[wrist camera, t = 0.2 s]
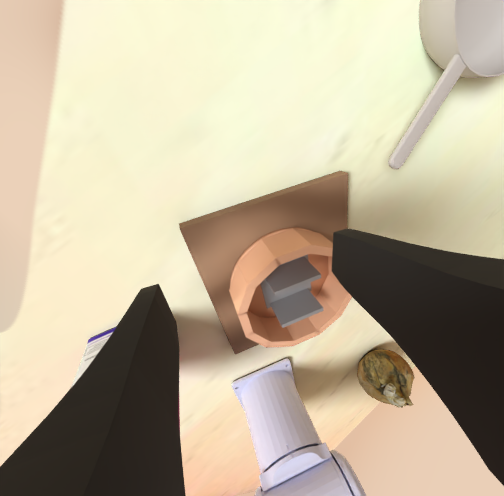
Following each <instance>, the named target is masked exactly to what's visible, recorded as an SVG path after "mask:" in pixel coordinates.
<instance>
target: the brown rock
mask: <svg viewBox="0 0 504 496" xmlns="http://www.w3.org/2000/svg"><path fill="white" fill-rule="evenodd" d="M357 376H358V380H359V383H360V385H361V386H362V387H363V389H364V390H365V391H366V393H367V394H368V395H370V396H371V397H372V398H375V399H377V400H378V401H381V402H383V403H388V404H392V405H395V406H397V407H403V406H406V405H409V406H411V405H413V404H412V402H411V400H410V399H409V396H410V394H411V388H412V382H413V379H414V375H413V371H412V369H411V367H410V366H409V364H408V363H407V362H406V361H405V360H404V359H403V358H402V357H401V356H400V355H398V354H397V353H395V352H393V351H390V350H374V351H372V352H369V353H367V354H366V355H365V356H364V357H363V359H362V360H361V361H360V362H359V367H358V373H357Z"/></svg>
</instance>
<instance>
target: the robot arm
mask: <svg viewBox="0 0 504 496" xmlns="http://www.w3.org/2000/svg"><path fill="white" fill-rule="evenodd" d="M331 271H332V273H333V274H334V275H335V277H336V278H337V279H338V281H339V282H340V283H341V285H342V286H343V287H344V289H345V290H346V291H347V292H348V293H349V294H350V295H351V296H352V297H353V298H354V299H355V300H356V301H357V302H358V303H359V304H360V305H361V306H362V307H363V308H364V309H365V310H366V311H367V312H368V313H369V314H370V315H371V316H372V317H373V318H374V319H375V320H376V321H377V322H378V323H379V324H380V325H381V326H382V327H383V328H384V329H385V330H386V331H387V332H388V333H389V334H390V335H391V337H392V338H393V339H394V340H395V341H396V342H397V343H398V345H399V346H400V347H401V348H402V350H403V351H404V352H405V353H406V354H407V356H408V357H409V358H410V359H411V360H412V362H413V363H414V364H415V366H416V367H417V368H418V369H419V370H420V372H421V373H422V375H423V376H424V377H425V378H426V380H427V381H428V382H429V383H430V385H431V386H432V387H433V389H434V390H435V391H436V393H437V394H438V396H439V397H440V398H441V400H442V401H443V403H444V404H445V405H446V406H447V408H448V409H449V411H450V412H451V414H452V415H453V416H454V418H455V419H456V421H457V422H458V424H459V425H460V427H461V428H462V429H463V431H464V432H465V434H466V435H467V437H468V438H469V440H470V441H471V443H472V444H473V446H474V447H475V449H476V450H477V452H478V453H479V455H480V456H481V458H482V459H483V461H484V463H485V464H486V466H487V467H488V469H489V470H490V471H491V472H492V473H493V474H494V476H496V478H497V479H498V480H499V481H500V482H501V483H502V484H503V485H504V259H495V258H487V257H480V256H473V255H467V254H460V253H454V252H448V251H443V250H438V249H433V248H428V247H424V246H419V245H415V244H410V243H406V242H402V241H398V240H394V239H390V238H386V237H382V236H378V235H374V234H370V233H366V232H361V231H357V230H352V229H343V230H340V231H336V232H333V250H332V270H331ZM232 388H233V390H234V392H235V394H236V396H237V398H238V400H239V402H240V403H241V405H242V407H243V409H244V411H245V414H246V418H247V422H248V426H249V430H250V433H251V437H252V441H253V445H254V449H255V453H256V457H257V461H258V464H259V468H260V472H261V474H260V475H259V478H260V482H261V486H262V487H261V486H260V487H258V488H257V489H256V491H255V492H256V494H255V496H366V494H365V492H364V490H363V488H362V486H361V484H360V482H359V480H358V478H357V476H356V474H355V473H354V471H353V469H352V467H351V466H350V464H349V463H348V462H347V460H346V458H345V457H344V456H343V455H342V454H340V453H338V452H337V451H336V450H331V451H329V449H328V447H327V445H326V443H323V444H322V442H321V440H320V438H319V436H318V434H317V432H316V430H315V427H314V425H313V423H312V421H311V419H310V417H309V415H308V412H307V410H306V408H305V406H304V404H303V402H302V400H301V398H300V395H299V393H298V391H297V389H296V386H295V381H294V376H293V372H292V367H291V363H290V360H289V359H288V358H286V359H283V360H281V361H279V362H277V363H274V364H272V365H270V366H268V367H265V368H263V369H261V370H259V371H256V372H254V373H252V374H250V375H247V376H245V377H243V378H241V379H238V380H236V381H234V382H233V383H232ZM0 496H185V487H184V477H183V467H182V455H181V443H180V431H179V341H178V333H177V325H176V321H175V319H174V316H173V314H172V312H171V310H170V308H169V305H168V303H167V301H166V299H165V297H164V295H163V292H162V290H161V288H160V286H159V284H156V285H153V286H150V287H146V288H143V289H141V290H140V292H139V293H138V295H137V296H136V298H135V299H134V301H133V302H132V304H131V305H130V307H129V309H128V310H127V312H126V313H125V315H124V316H123V318H122V319H121V321H120V323H119V324H118V326H117V327H116V329H115V330H114V332H113V333H112V335H111V336H110V337H109V339H108V340H107V342H106V343H105V344H104V346H103V347H102V348H101V350H100V351H99V353H98V354H97V355H96V357H95V358H94V359H93V361H92V362H91V363H90V365H89V366H88V368H87V369H86V370H85V371H84V373H83V374H82V375H81V377H80V378H79V379H78V380H77V382H76V383H75V384H74V385H73V386H72V388H71V389H70V390H69V391H68V392H67V394H66V395H65V396H64V397H63V398H62V400H61V401H60V402H59V403H58V404H57V405H56V407H55V408H54V409H53V410H52V411H51V412H50V414H49V415H48V416H47V417H46V418H45V419H44V420H43V421H42V422H41V423H40V425H39V426H38V427H37V428H36V429H35V430H34V431H33V432H32V433H31V434H30V435H29V436H28V437H27V439H26V440H25V441H24V442H23V443H22V444H21V445H20V446H19V447H18V448H17V449H16V450H15V451H14V453H13V454H12V455H11V456H10V457H9V458H8V459H7V460H6V461H5V462H4V463H3V464H2V465H1V467H0Z"/></svg>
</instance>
